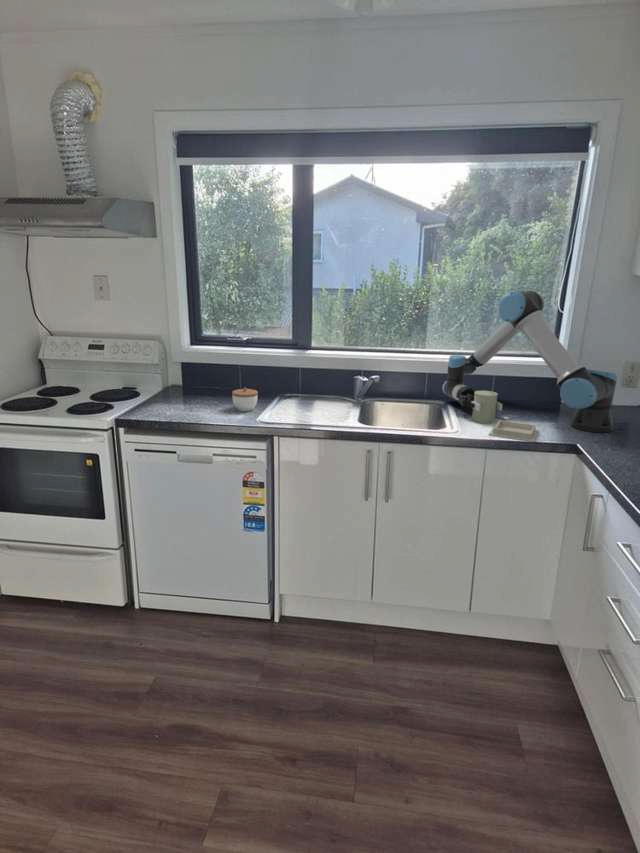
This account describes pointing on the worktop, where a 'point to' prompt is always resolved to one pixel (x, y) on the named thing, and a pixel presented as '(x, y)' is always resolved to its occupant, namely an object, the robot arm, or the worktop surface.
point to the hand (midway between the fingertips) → (490, 407)
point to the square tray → (514, 430)
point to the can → (485, 406)
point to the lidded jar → (244, 399)
